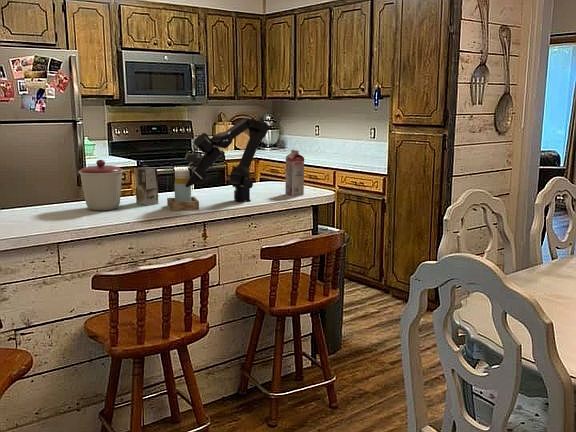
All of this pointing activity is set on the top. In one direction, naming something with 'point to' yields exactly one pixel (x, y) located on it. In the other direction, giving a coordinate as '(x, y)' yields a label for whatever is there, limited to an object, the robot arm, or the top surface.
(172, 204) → the caddy
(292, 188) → the juice carton
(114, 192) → the canister
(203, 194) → the top surface
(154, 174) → the coffee box
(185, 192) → the bottle
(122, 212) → the top surface
